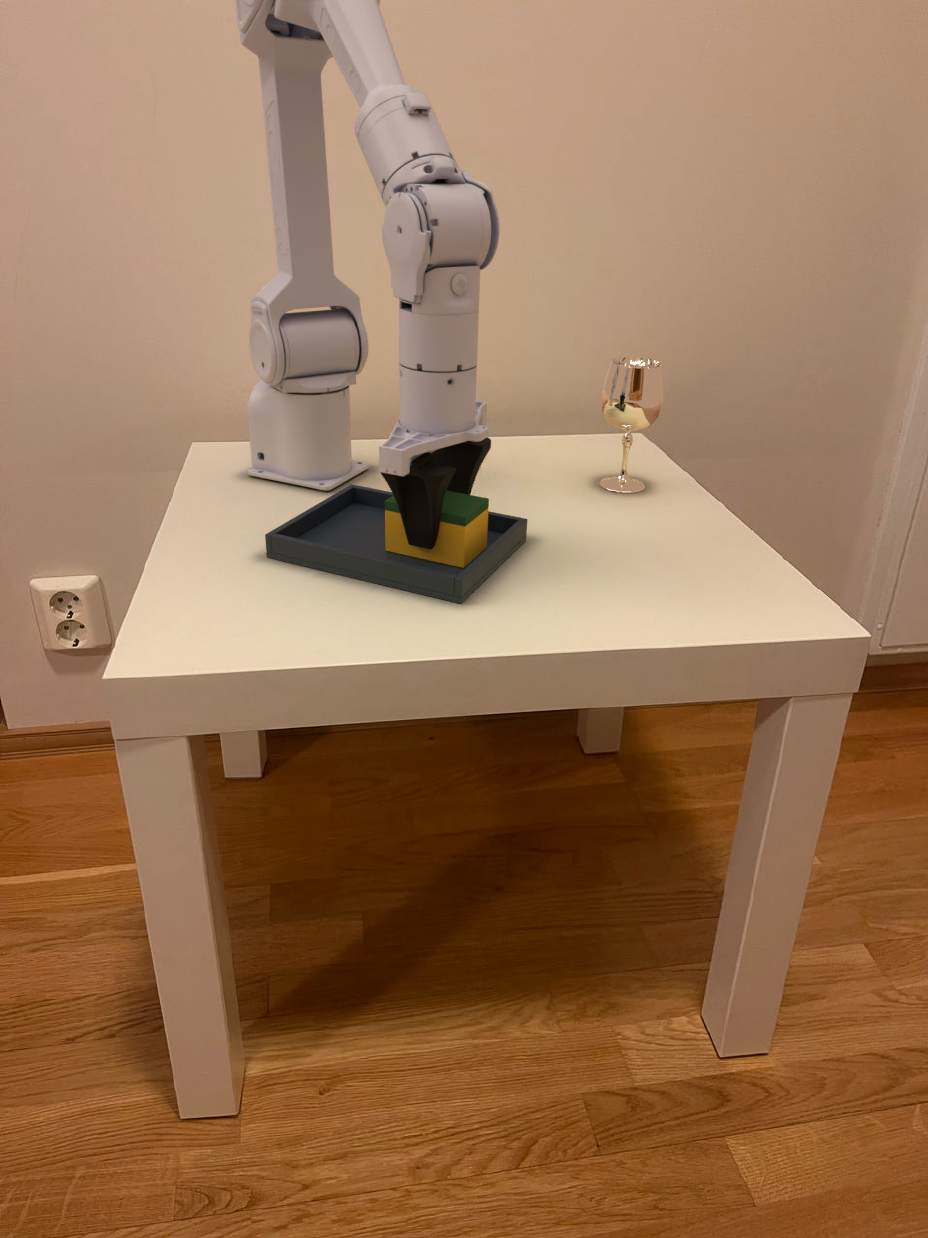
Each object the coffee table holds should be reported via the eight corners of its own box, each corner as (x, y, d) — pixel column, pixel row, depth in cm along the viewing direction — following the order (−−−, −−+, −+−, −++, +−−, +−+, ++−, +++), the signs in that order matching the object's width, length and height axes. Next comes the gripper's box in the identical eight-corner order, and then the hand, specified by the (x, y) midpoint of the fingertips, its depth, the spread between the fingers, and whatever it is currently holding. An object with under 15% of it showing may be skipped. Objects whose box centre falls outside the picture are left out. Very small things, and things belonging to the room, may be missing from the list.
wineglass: (655, 480, 92) (672, 359, 86) (646, 498, 87) (663, 372, 81) (599, 472, 93) (611, 353, 87) (587, 490, 88) (599, 365, 83)
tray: (266, 557, 73) (264, 534, 72) (351, 504, 83) (351, 483, 82) (461, 604, 67) (461, 579, 66) (526, 540, 77) (527, 518, 76)
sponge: (385, 550, 73) (384, 500, 71) (411, 531, 77) (411, 483, 75) (464, 568, 71) (465, 516, 69) (487, 547, 74) (489, 498, 72)
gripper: (443, 392, 59) (440, 579, 66) (524, 351, 71) (515, 513, 78) (351, 378, 62) (356, 560, 68) (443, 341, 74) (441, 499, 80)
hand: (435, 534), depth 73 cm, fingers closed on sponge, 4 cm apart
